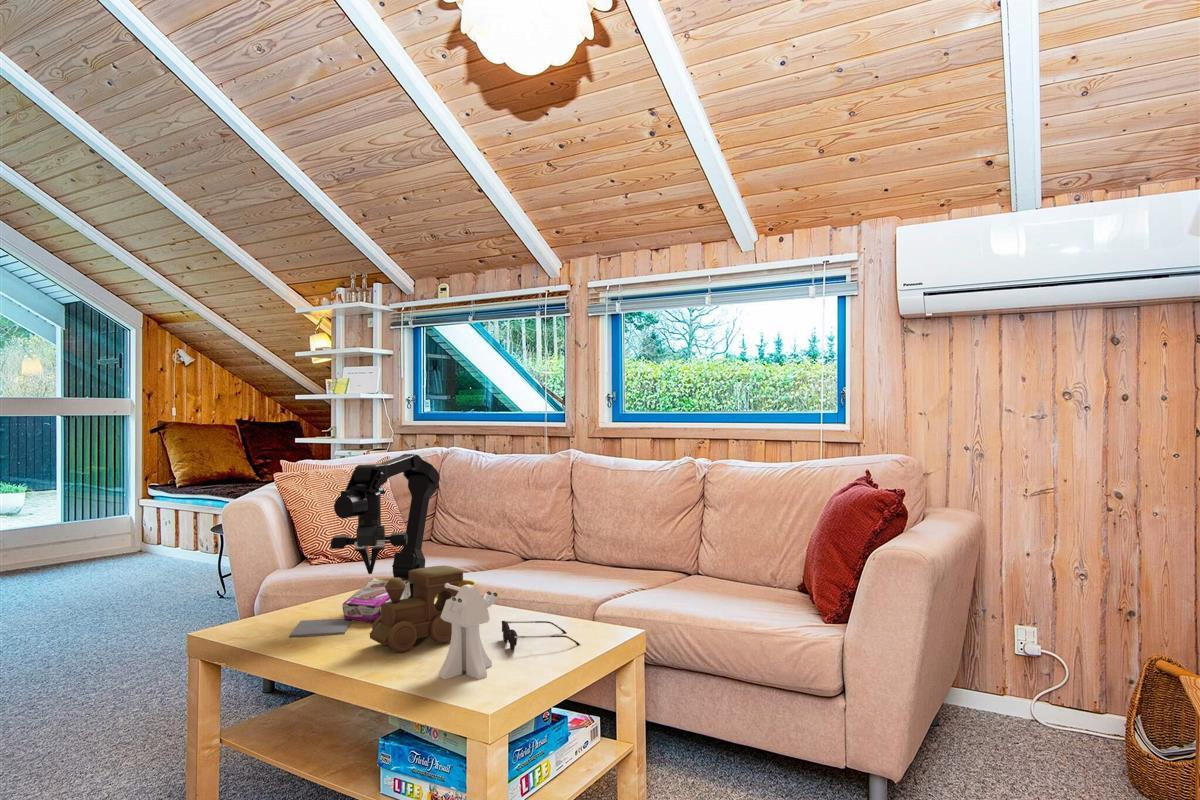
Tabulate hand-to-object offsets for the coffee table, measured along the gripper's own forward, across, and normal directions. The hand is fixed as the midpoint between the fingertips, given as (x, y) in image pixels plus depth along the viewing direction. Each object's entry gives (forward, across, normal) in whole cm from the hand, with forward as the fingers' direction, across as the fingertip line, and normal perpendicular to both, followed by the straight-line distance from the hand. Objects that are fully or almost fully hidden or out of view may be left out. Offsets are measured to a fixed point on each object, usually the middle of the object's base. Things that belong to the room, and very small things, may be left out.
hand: (370, 573), depth 206 cm
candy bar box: (+10, -2, 0) cm, 10 cm away
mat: (+13, -12, -2) cm, 17 cm away
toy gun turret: (+13, +24, -44) cm, 51 cm away
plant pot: (+13, +22, -3) cm, 26 cm away
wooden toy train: (+13, +13, -21) cm, 28 cm away
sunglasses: (+13, +41, -27) cm, 51 cm away
